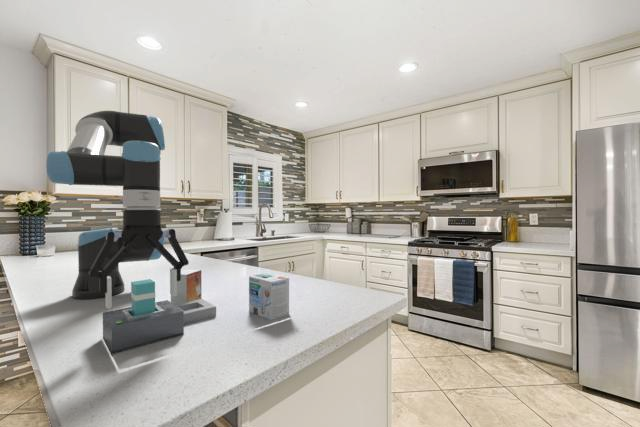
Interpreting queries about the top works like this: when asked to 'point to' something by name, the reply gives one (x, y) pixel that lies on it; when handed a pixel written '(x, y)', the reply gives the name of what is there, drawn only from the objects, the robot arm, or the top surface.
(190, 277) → the small box
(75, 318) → the top surface
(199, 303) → the holster
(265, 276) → the light bulb box
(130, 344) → the port panel
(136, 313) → the plug
